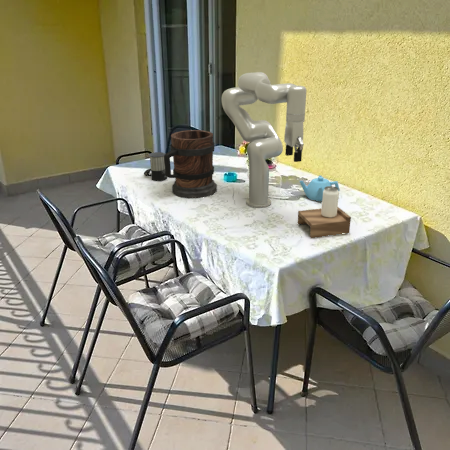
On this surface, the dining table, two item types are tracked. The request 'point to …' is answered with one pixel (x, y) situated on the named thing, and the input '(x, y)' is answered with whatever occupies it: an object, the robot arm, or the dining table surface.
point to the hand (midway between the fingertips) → (293, 158)
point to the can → (330, 202)
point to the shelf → (324, 222)
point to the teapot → (317, 188)
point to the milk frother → (157, 167)
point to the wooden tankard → (191, 164)
